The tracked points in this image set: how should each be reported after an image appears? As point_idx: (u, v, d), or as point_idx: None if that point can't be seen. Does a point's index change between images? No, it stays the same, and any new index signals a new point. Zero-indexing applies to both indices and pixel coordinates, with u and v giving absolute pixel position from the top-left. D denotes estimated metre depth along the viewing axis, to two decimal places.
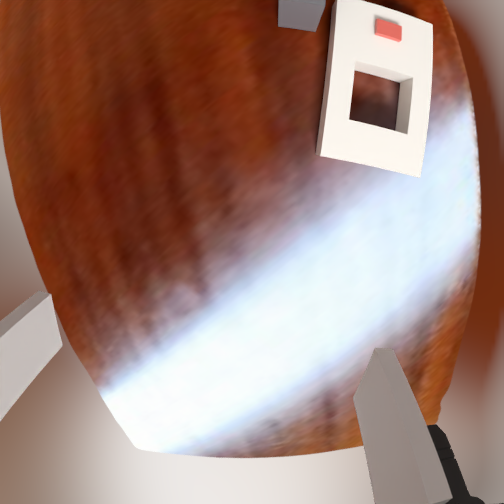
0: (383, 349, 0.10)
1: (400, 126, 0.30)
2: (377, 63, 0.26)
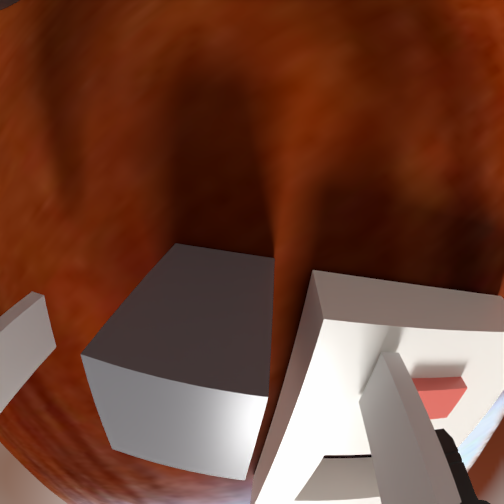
0: (389, 353, 0.10)
1: None
2: (370, 451, 0.13)
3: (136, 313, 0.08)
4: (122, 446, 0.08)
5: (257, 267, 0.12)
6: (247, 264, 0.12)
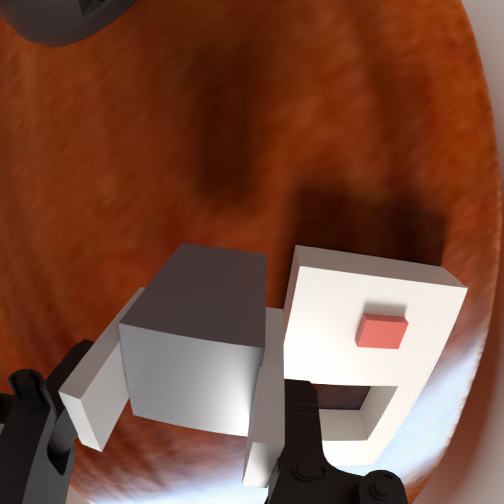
0: (272, 308, 0.12)
1: (366, 415, 0.24)
2: (345, 382, 0.20)
3: (158, 294, 0.11)
4: (143, 410, 0.10)
5: (252, 261, 0.15)
6: (244, 258, 0.15)
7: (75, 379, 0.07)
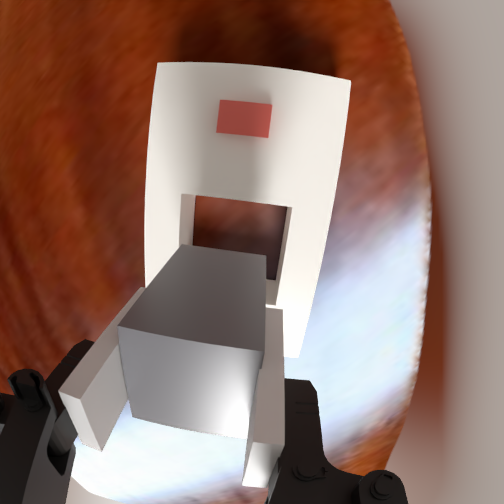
0: (272, 308, 0.12)
1: (277, 277, 0.23)
2: (220, 193, 0.19)
3: (157, 296, 0.11)
4: (142, 413, 0.10)
5: (252, 262, 0.15)
6: (243, 260, 0.15)
7: (75, 379, 0.07)
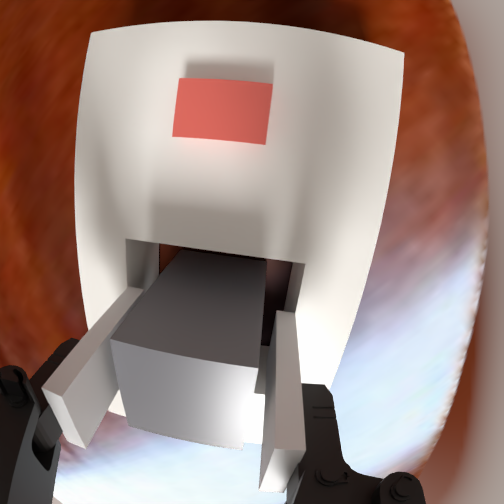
0: (284, 312, 0.12)
1: None
2: (185, 239, 0.11)
3: (152, 307, 0.10)
4: (138, 422, 0.10)
5: (251, 269, 0.14)
6: (243, 267, 0.15)
7: (58, 376, 0.07)
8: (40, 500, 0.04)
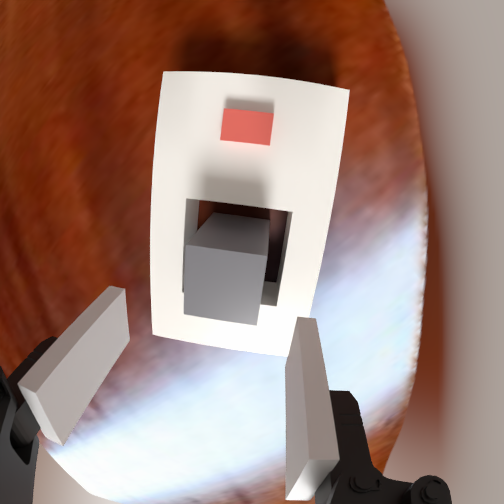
0: (305, 318, 0.12)
1: (278, 279, 0.24)
2: (224, 198, 0.20)
3: (205, 234, 0.19)
4: (191, 309, 0.18)
5: (260, 222, 0.23)
6: (255, 221, 0.23)
7: (34, 373, 0.06)
8: (21, 493, 0.04)
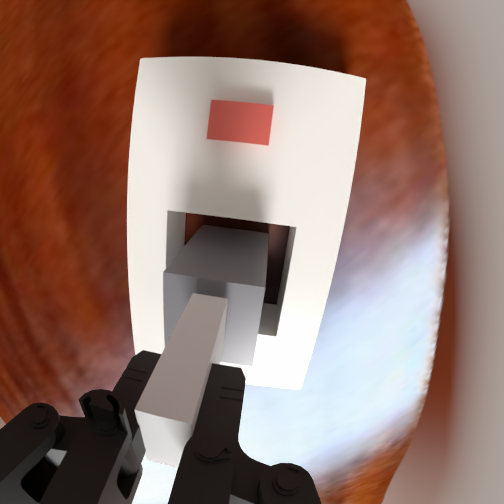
0: (217, 297, 0.12)
1: (278, 303, 0.20)
2: (212, 210, 0.16)
3: (189, 256, 0.15)
4: None
5: (257, 237, 0.19)
6: (251, 235, 0.19)
7: (151, 395, 0.07)
8: None
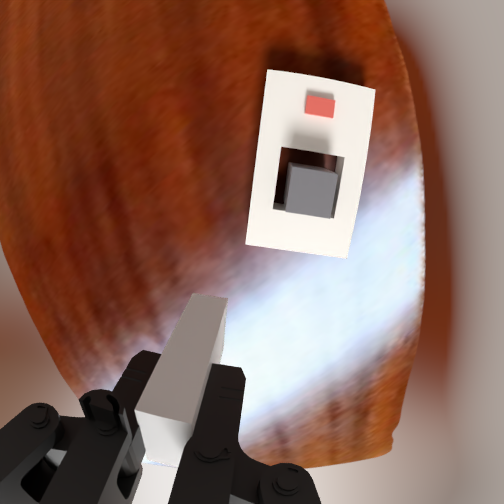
0: (217, 297, 0.12)
1: None
2: (304, 147, 0.31)
3: None
4: (291, 208, 0.30)
5: (320, 167, 0.34)
6: None
7: (151, 395, 0.07)
8: None
